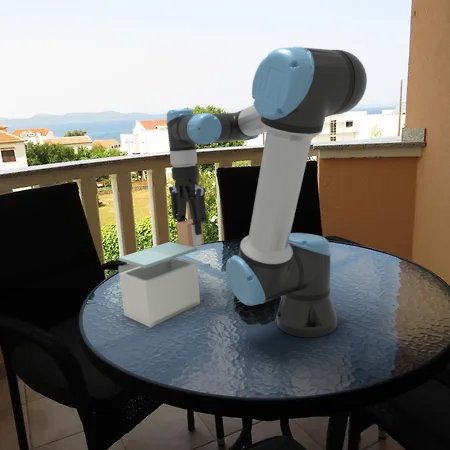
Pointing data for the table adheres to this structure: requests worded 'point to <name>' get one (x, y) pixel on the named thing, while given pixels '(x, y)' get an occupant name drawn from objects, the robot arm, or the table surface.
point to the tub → (159, 291)
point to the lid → (165, 248)
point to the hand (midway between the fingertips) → (191, 243)
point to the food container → (126, 267)
